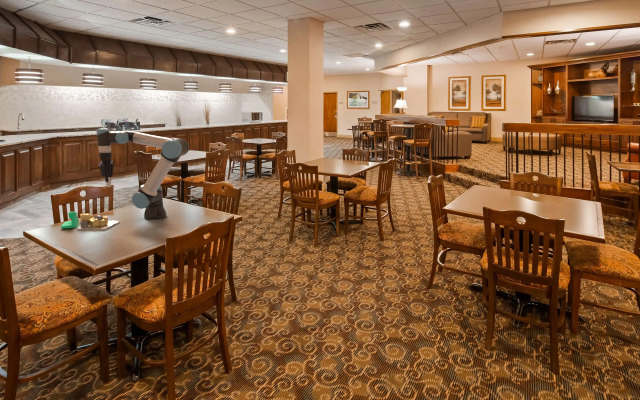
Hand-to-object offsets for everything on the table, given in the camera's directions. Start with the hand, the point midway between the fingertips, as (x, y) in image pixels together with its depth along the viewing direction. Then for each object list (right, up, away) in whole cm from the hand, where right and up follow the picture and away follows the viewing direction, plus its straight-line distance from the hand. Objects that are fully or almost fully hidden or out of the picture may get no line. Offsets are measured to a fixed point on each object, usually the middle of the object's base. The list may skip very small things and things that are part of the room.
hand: (108, 186), depth 274 cm
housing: (-3, -27, -7) cm, 28 cm away
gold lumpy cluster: (-5, -25, -8) cm, 27 cm away
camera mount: (-21, -27, -9) cm, 35 cm away
